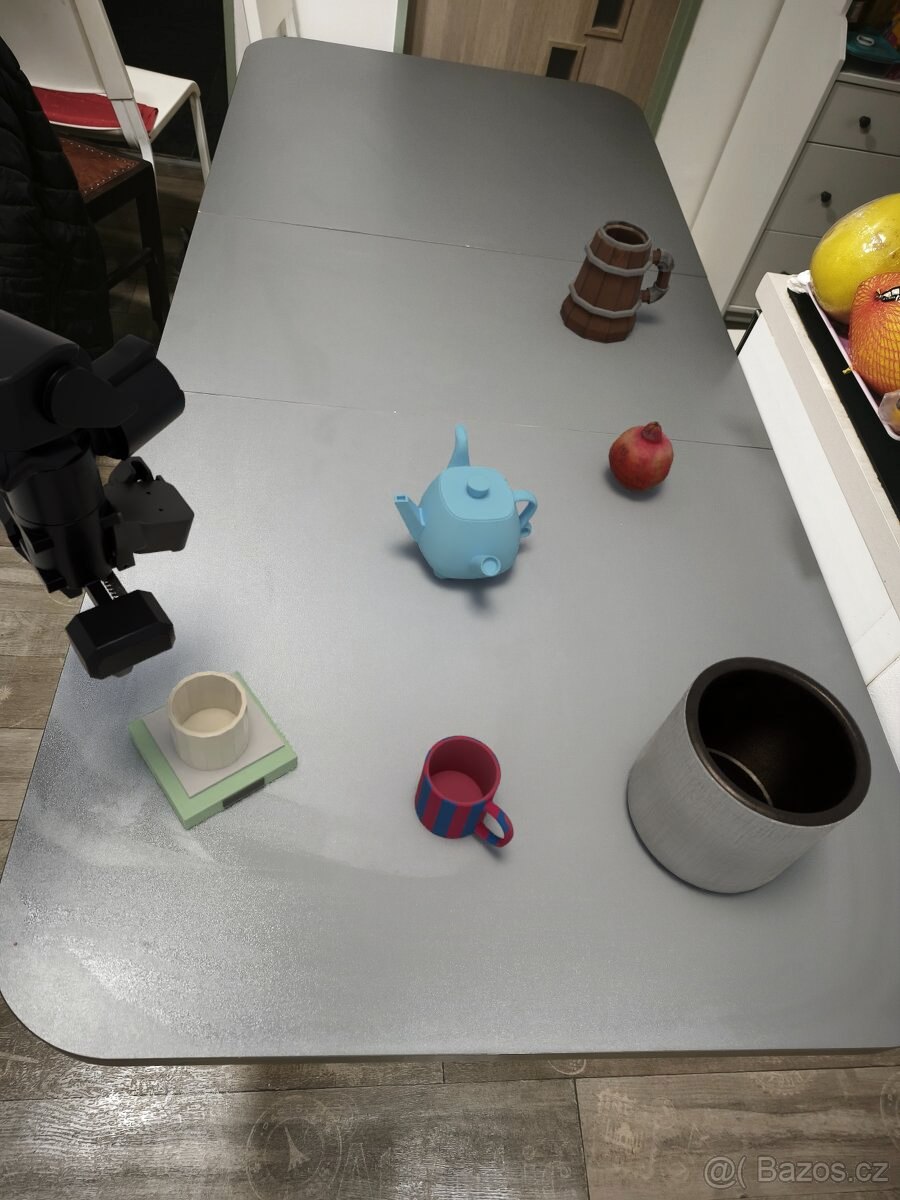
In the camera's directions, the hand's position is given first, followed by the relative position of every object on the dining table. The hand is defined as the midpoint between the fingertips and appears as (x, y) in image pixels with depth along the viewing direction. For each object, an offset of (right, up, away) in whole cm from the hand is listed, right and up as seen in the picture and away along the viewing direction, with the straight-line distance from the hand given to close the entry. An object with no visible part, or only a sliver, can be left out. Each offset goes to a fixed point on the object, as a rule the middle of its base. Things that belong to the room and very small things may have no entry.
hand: (99, 633), depth 66 cm
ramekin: (+7, -10, +7) cm, 14 cm away
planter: (+53, -18, +12) cm, 57 cm away
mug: (+54, +48, +66) cm, 98 cm away
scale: (+7, -11, +9) cm, 16 cm away
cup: (+29, -17, +8) cm, 35 cm away
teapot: (+29, +8, +29) cm, 42 cm away
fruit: (+52, +18, +42) cm, 69 cm away
